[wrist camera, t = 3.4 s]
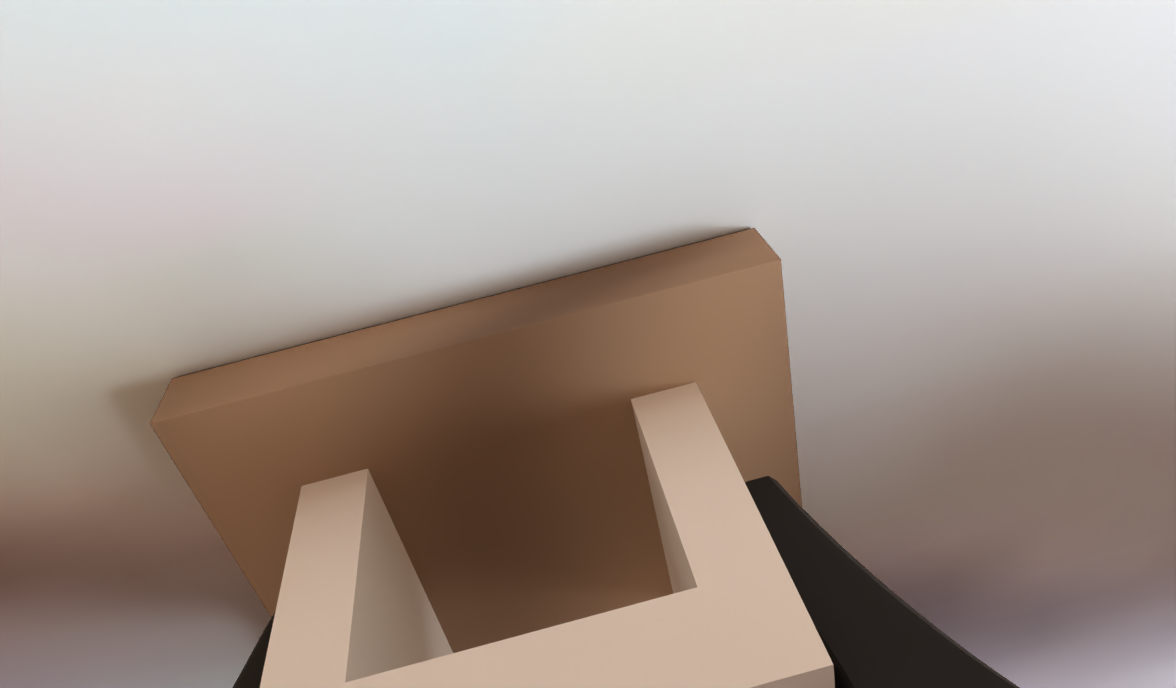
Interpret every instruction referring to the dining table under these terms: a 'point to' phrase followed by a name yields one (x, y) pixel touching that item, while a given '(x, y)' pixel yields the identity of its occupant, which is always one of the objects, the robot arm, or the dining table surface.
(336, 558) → the u clip
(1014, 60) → the dining table surface
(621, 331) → the brown square backing plate
